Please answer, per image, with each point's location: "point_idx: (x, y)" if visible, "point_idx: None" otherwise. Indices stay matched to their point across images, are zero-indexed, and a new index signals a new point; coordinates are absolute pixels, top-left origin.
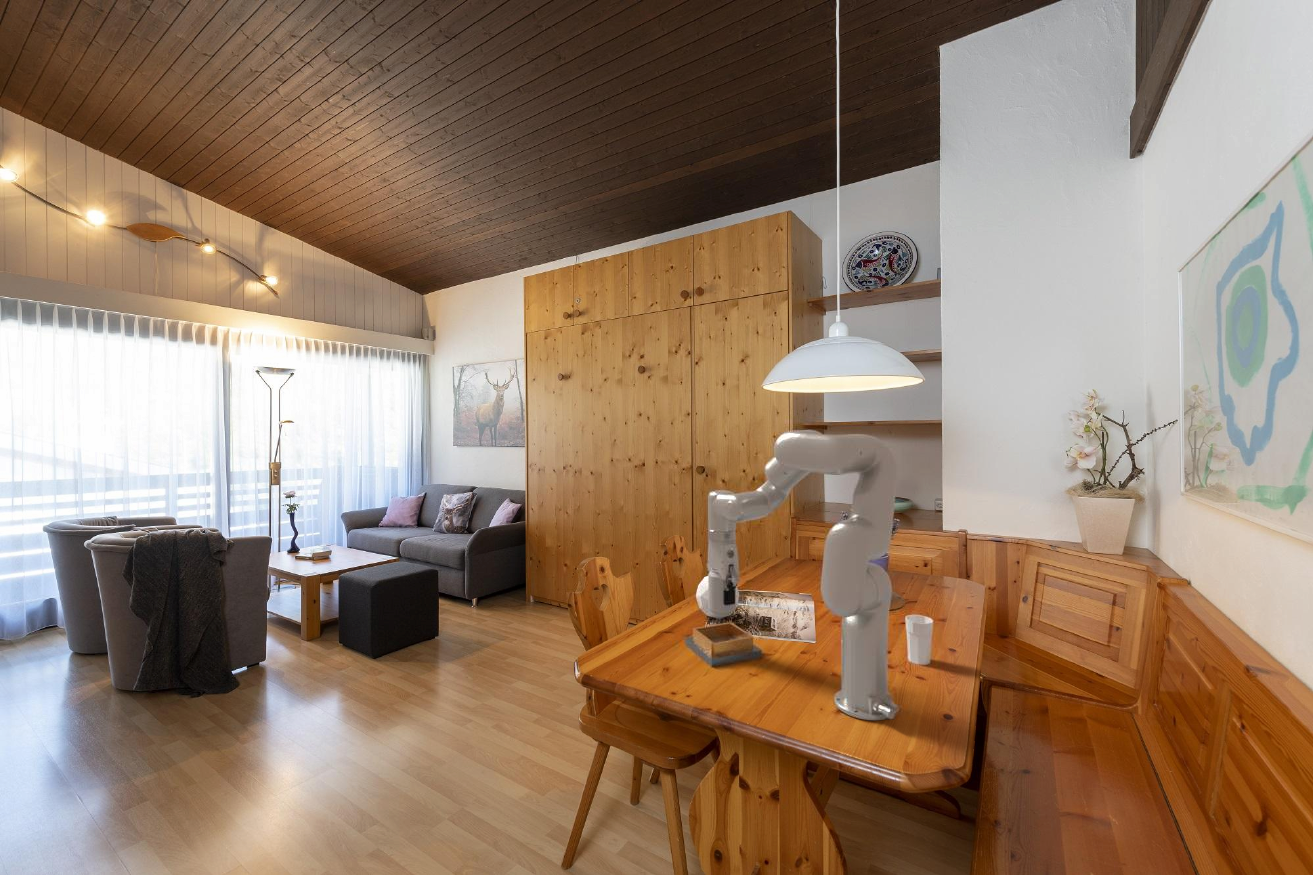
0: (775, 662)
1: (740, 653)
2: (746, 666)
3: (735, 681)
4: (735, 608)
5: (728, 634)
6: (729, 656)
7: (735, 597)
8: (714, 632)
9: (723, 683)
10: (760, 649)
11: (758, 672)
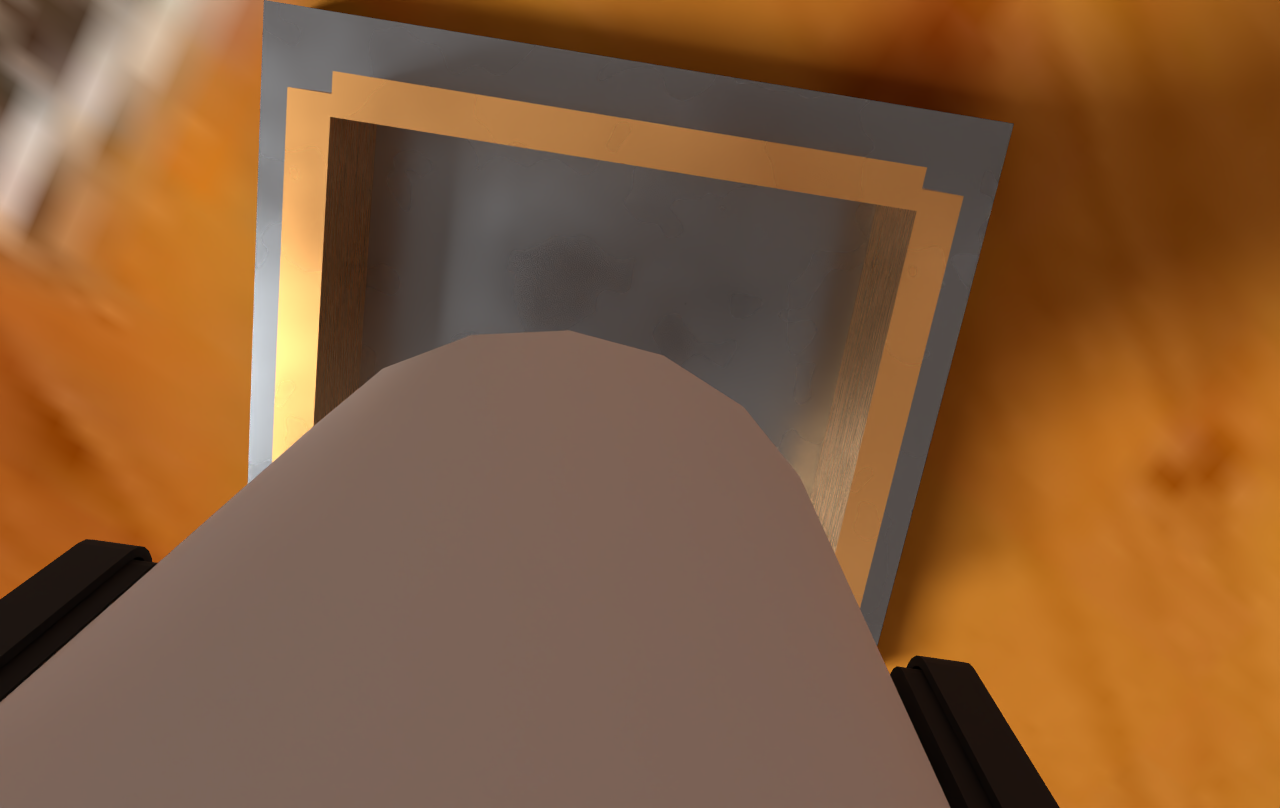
0: (1168, 82)
1: (929, 403)
2: (1033, 410)
3: (1180, 673)
4: (768, 441)
5: (391, 156)
6: (902, 535)
7: (814, 552)
8: (346, 356)
9: (1138, 766)
10: (992, 127)
11: (1202, 400)
